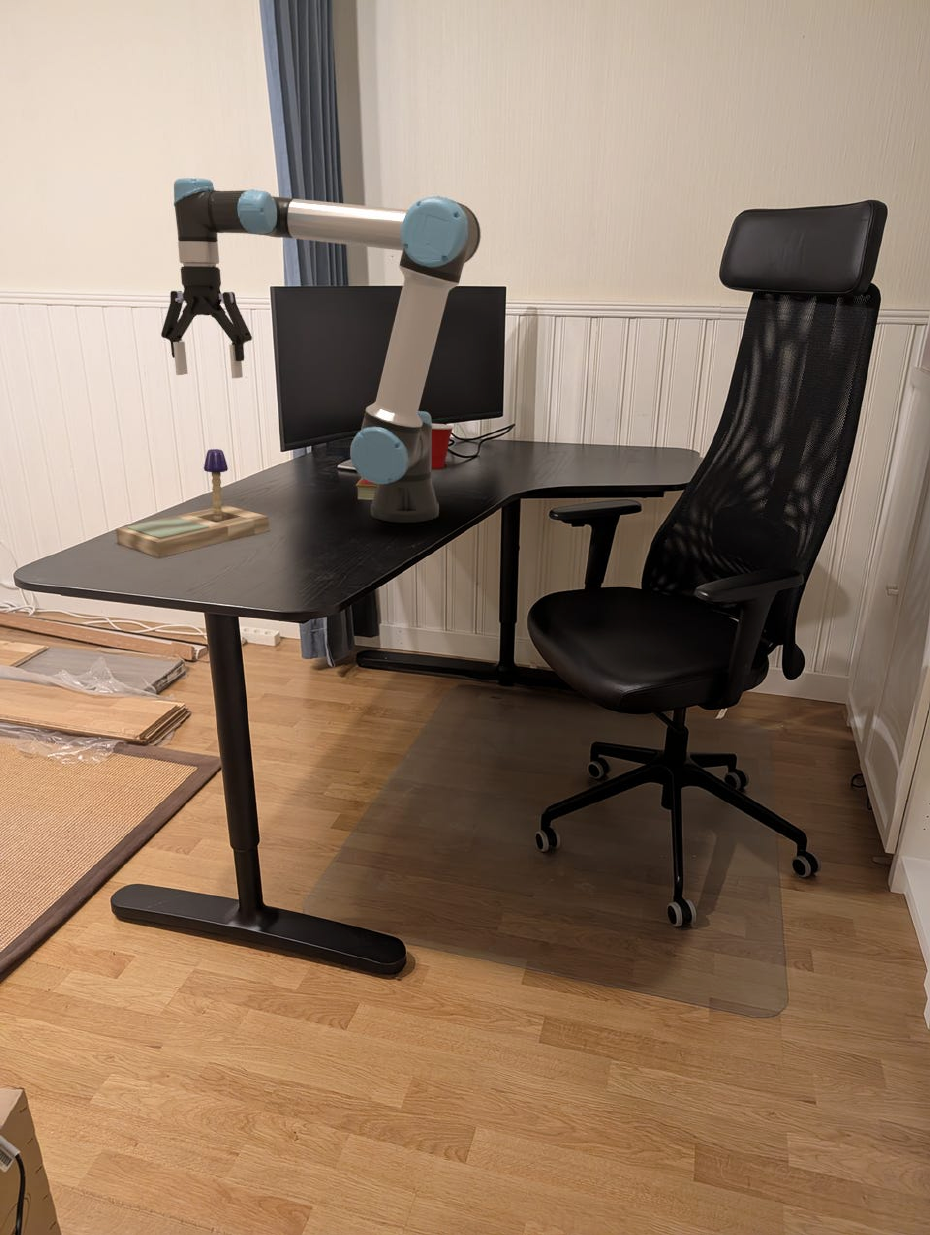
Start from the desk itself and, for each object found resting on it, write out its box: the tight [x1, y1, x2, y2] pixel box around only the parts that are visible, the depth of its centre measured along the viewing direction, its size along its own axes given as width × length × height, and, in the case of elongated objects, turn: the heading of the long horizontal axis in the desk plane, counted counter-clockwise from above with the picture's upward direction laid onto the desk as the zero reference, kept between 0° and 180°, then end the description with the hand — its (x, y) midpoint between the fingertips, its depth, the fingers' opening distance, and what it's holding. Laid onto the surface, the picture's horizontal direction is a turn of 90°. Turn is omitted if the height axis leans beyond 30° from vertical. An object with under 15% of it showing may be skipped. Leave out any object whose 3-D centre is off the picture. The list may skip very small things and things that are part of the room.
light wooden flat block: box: [115, 505, 270, 559], centre depth 180 cm, size 14×26×3 cm, turn 141°
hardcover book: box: [355, 476, 377, 501], centre depth 222 cm, size 12×21×4 cm, turn 176°
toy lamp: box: [203, 448, 229, 523], centre depth 182 cm, size 5×5×17 cm
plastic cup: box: [431, 423, 455, 470], centre depth 248 cm, size 11×11×12 cm
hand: (209, 376), depth 185 cm, fingers open, 13 cm apart
